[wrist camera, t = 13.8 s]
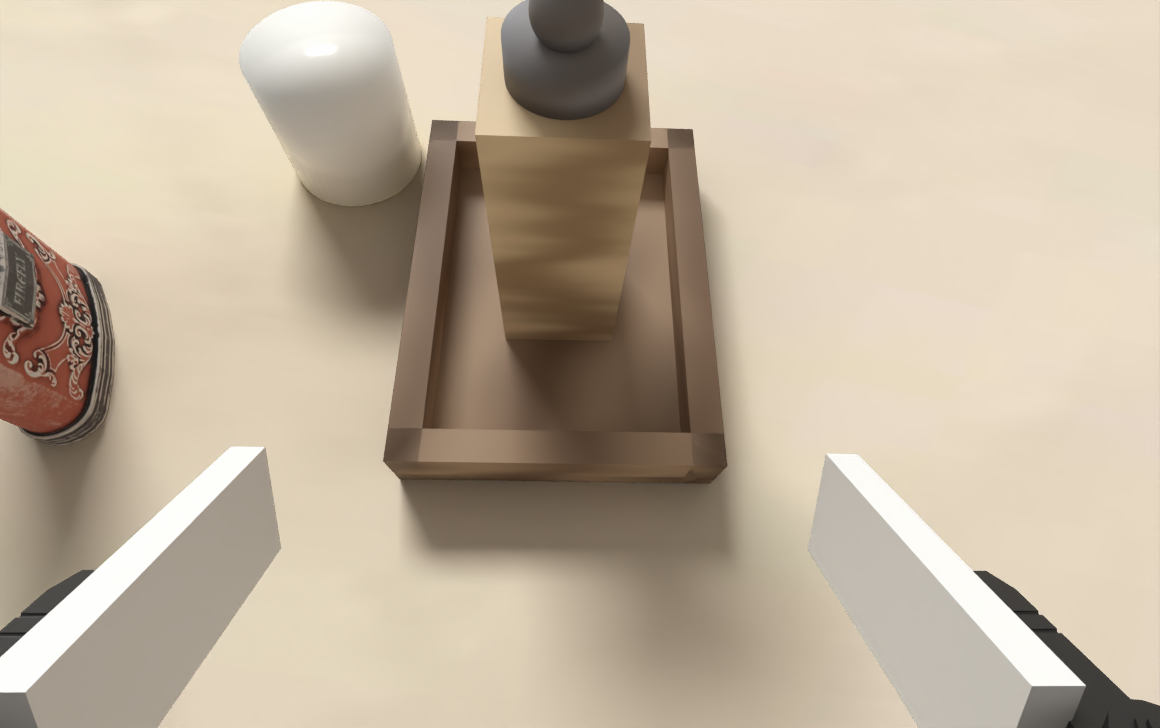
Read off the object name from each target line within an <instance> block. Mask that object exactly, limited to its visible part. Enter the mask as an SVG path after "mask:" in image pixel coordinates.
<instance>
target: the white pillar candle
mask: <svg viewBox="0 0 1160 728" xmlns="http://www.w3.org/2000/svg"><path fill="white" fill-rule="evenodd" d="M239 63H240V68H241V71H242V73H243V75H244V77H245V79H246V81H247V83H248V84H249V86H250V88H251V90H252V92H253V94H254V96H255V97H256V99H257V101H258V103H259V105H260V107H261V108H262V110H263V112H264V114H265V116H266V118H267V120H268V121H269V123H270V125H271V127H272V129H273V131H274V132H275V134H276V136H277V138H278V140H279V142H280V144H281V145H282V147H283V149H284V151H285V153H286V155H287V157H288V158H289V160H290V162H291V164H292V166H293V168H294V169H295V171H296V173H297V175H298V177H299V179H300V181H301V182H302V184H303V185H304V187H305V188H306V189H307V190H308V191H309V192H310V193H311V194H313V195H314V196H316V197H317V198H319V199H321V200H323V201H325V202H328V203H331V204H335V205H340V206H364V205H370V204H374V203H378V202H381V201H383V200H386V199H388V198H390V197H392V196H394V195H395V194H397V193H399V192H400V191H401V190H403V189H404V188H405V187H406V186H407V185H408V184H409V183H410V182H411V181H412V179H413V178H414V177H415V175H416V173H417V171H418V169H419V167H420V163H421V147H420V143H419V139H418V135H417V132H416V128H415V124H414V120H413V116H412V113H411V109H410V105H409V101H408V97H407V94H406V90H405V86H404V82H403V78H402V75H401V71H400V67H399V63H398V59H397V56H396V52H395V48H394V44H393V40H392V37H391V34H390V32H389V30H388V28H387V26H386V25H385V24H384V22H383V21H382V20H381V19H380V18H379V17H377V16H376V15H375V14H373V13H372V12H370V11H368V10H366V9H364V8H361V7H359V6H356V5H353V4H349V3H344V2H336V1H315V2H307V3H301V4H297V5H293V6H290V7H287V8H284V9H282V10H279V11H277V12H275V13H273V14H271V15H270V16H268V17H266V18H265V19H263V20H262V21H261V22H259V23H258V24H257V25H256V26H255V27H254V28H253V29H252V30H251V31H250V32H249V33H248V35H247V36H246V38H245V39H244V41H243V43H242V46H241V49H240V53H239Z"/></svg>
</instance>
